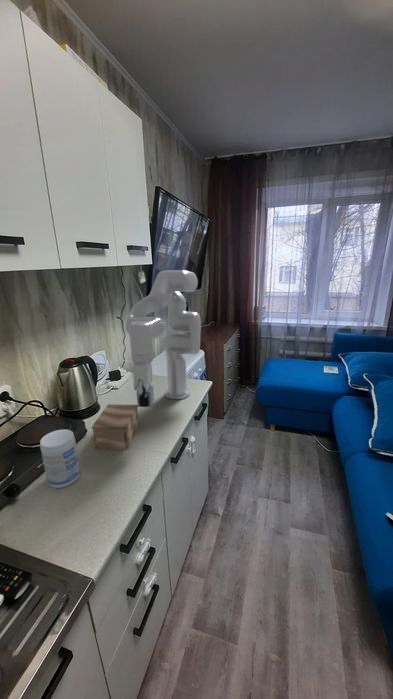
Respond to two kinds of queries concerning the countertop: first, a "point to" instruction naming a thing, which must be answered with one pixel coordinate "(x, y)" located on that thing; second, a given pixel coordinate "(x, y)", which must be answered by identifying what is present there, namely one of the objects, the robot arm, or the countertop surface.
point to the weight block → (150, 396)
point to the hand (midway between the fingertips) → (146, 402)
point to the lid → (115, 417)
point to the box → (116, 436)
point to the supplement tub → (60, 458)
